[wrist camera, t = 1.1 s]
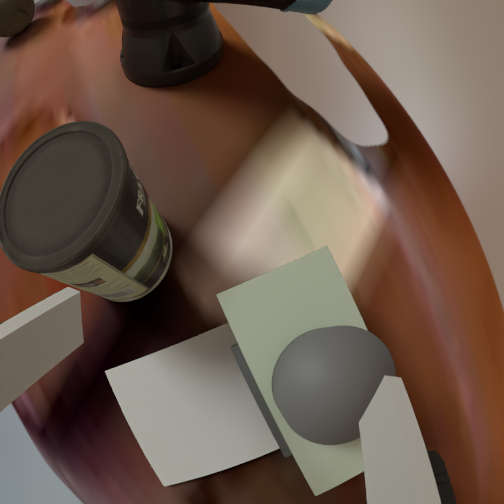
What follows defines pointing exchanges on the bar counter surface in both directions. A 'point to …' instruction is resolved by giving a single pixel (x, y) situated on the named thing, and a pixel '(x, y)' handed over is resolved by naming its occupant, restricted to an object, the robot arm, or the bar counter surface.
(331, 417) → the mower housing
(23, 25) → the cantaloupe
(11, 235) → the coffee can
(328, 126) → the bar counter surface
